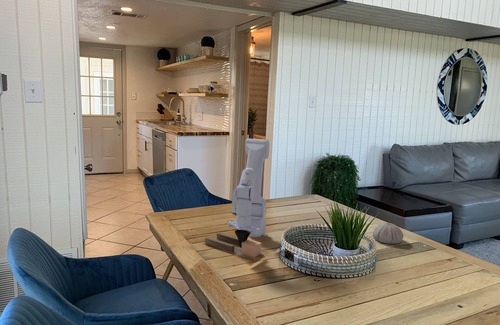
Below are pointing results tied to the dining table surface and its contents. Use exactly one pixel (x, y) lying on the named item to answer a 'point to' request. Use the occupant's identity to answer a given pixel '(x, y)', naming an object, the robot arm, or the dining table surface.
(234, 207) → the ink cartridge box
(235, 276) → the dining table surface
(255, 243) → the terracotta block
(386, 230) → the sea urchin shell
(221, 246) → the taupe railed channel
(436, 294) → the dining table surface
